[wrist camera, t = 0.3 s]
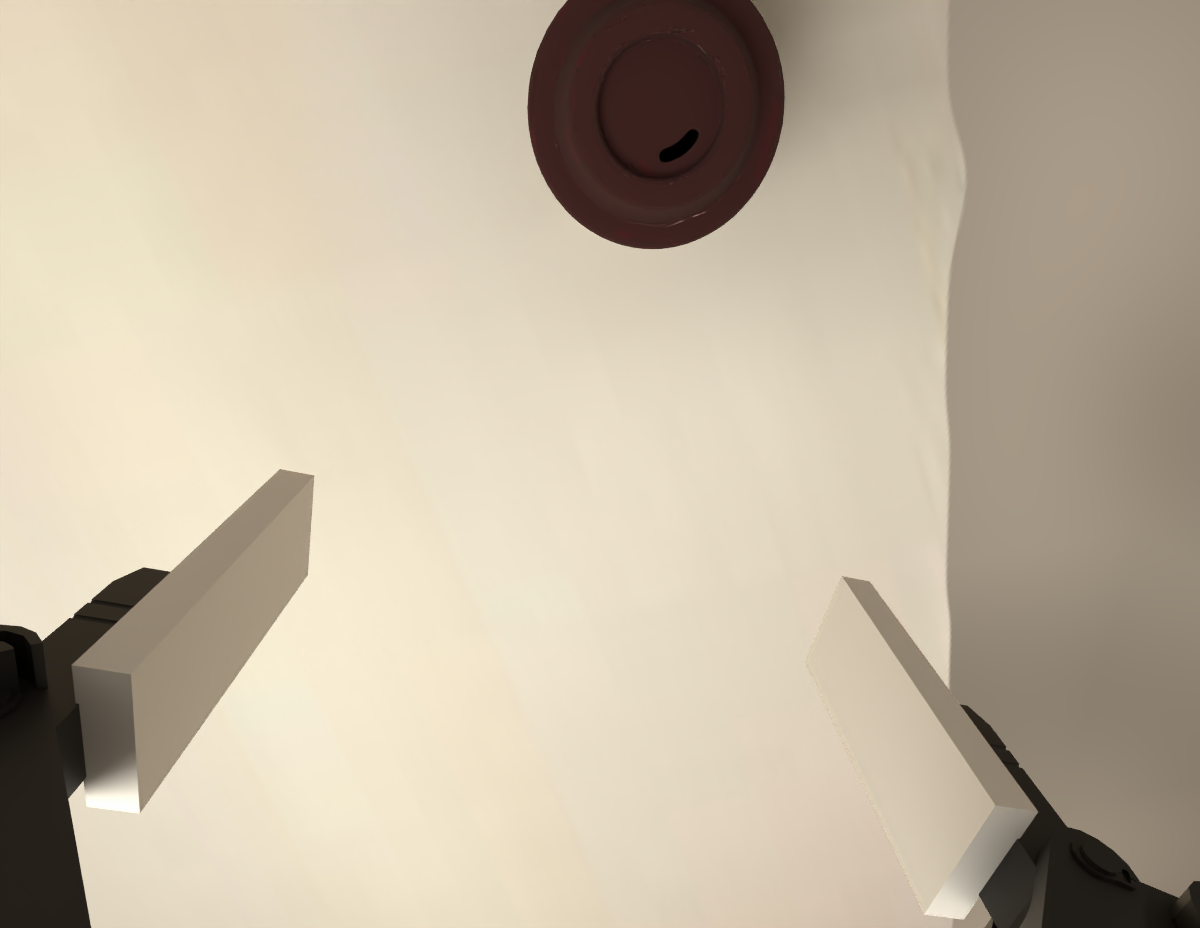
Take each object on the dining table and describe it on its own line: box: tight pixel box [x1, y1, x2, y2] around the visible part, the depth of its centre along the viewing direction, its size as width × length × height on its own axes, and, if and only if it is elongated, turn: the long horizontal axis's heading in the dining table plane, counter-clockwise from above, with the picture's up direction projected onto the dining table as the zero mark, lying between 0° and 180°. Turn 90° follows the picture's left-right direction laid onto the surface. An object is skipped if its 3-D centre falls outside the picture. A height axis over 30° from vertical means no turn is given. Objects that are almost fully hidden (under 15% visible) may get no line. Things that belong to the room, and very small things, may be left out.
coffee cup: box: [528, 0, 785, 249], centre depth 30 cm, size 10×10×15 cm
